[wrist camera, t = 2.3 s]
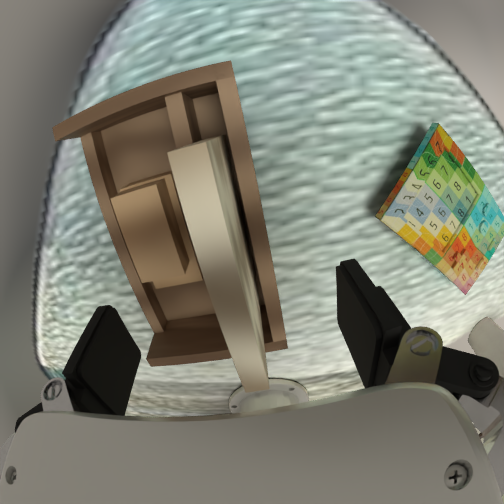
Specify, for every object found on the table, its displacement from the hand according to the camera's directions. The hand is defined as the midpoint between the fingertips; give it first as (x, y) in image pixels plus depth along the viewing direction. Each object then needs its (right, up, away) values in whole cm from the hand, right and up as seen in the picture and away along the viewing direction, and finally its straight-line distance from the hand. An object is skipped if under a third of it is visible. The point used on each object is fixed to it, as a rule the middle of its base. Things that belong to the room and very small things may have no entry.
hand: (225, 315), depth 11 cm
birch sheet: (-1, +6, +14) cm, 16 cm away
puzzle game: (+24, +7, +17) cm, 30 cm away
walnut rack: (-5, +6, +15) cm, 17 cm away
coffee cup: (+45, -13, +27) cm, 54 cm away
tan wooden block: (-7, +5, +15) cm, 17 cm away
